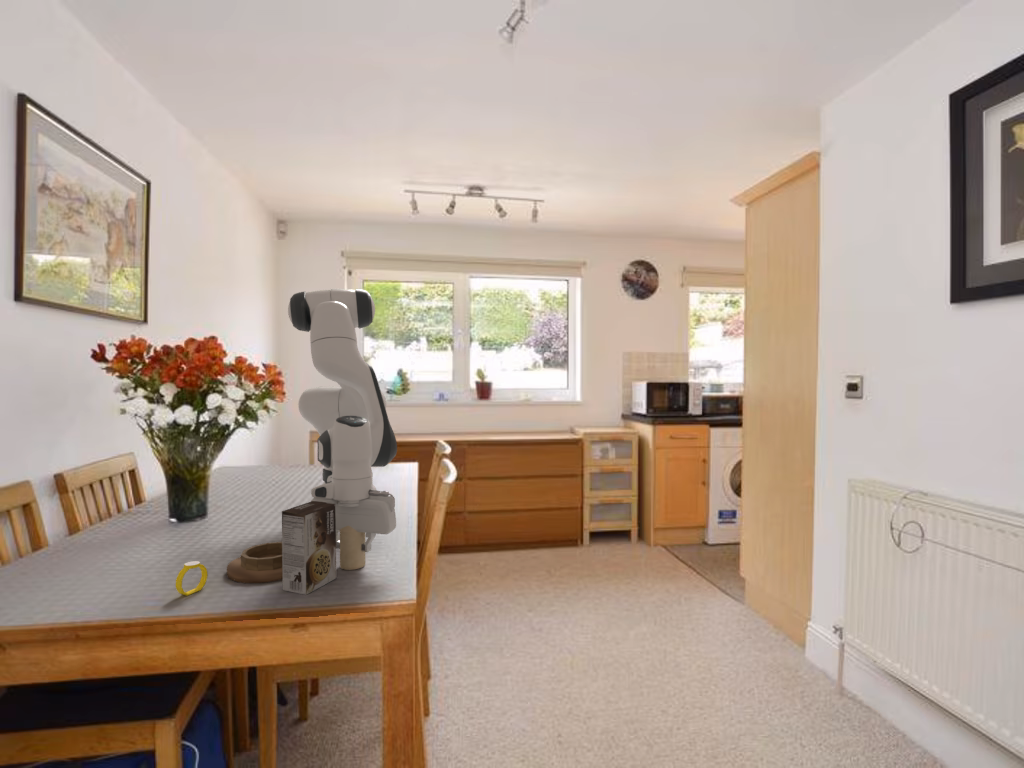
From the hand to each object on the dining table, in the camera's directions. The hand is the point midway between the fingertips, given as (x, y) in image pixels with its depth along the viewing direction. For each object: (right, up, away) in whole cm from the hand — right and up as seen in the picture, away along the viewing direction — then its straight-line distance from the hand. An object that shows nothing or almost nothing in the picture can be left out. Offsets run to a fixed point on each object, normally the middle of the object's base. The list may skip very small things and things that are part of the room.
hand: (352, 549), depth 121 cm
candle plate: (-18, -4, -2) cm, 18 cm away
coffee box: (-6, -4, -10) cm, 13 cm away
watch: (-27, -4, -15) cm, 31 cm away
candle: (0, -4, 0) cm, 4 cm away
